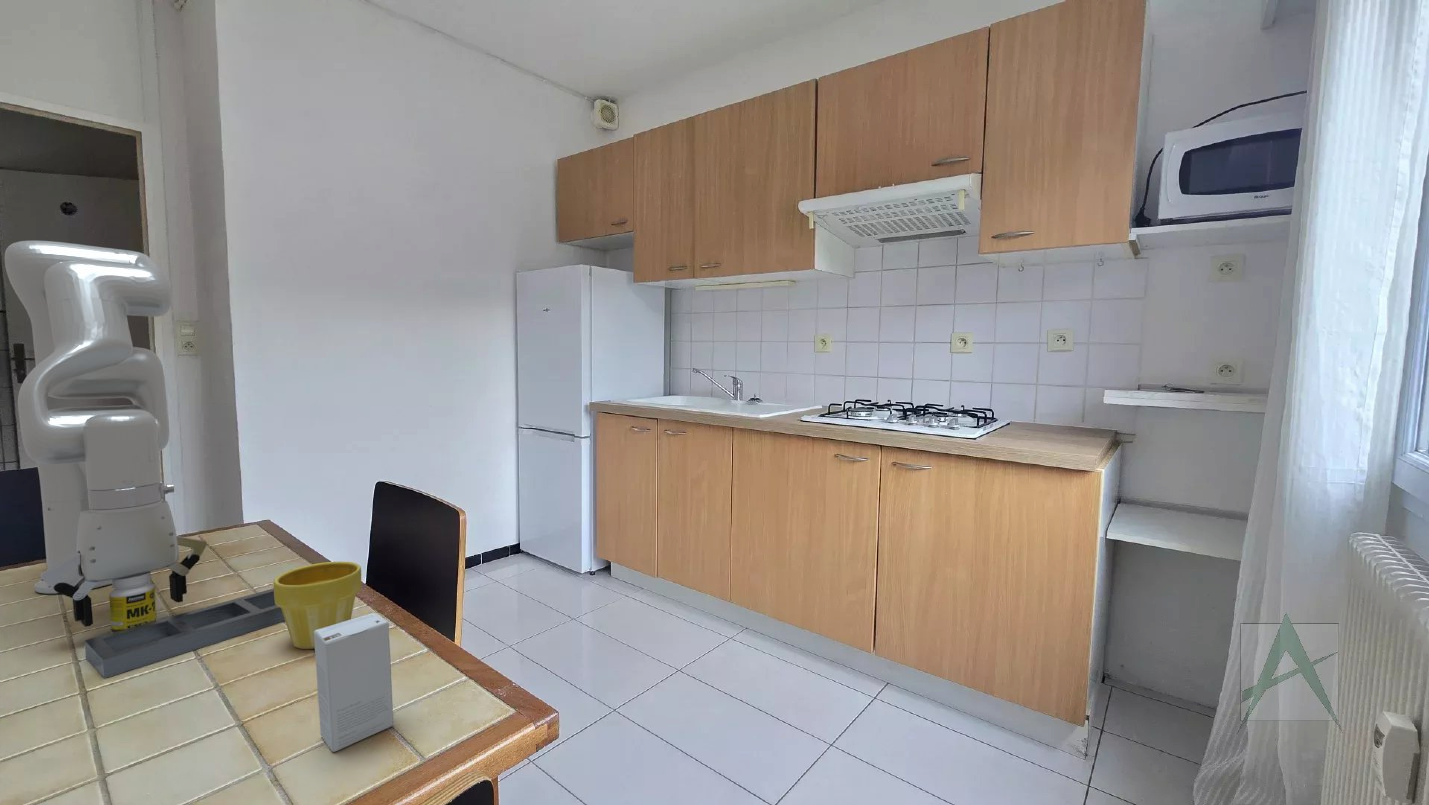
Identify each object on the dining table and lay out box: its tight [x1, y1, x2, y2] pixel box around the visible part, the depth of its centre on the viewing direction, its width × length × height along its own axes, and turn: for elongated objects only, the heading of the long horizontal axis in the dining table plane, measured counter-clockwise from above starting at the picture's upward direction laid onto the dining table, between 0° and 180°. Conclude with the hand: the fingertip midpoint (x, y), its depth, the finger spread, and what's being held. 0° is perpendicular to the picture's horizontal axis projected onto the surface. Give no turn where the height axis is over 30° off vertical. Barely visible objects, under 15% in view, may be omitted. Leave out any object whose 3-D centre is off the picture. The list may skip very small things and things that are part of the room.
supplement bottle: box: [108, 571, 157, 633], centre depth 86 cm, size 5×5×8 cm
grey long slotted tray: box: [83, 587, 285, 679], centre depth 86 cm, size 9×25×2 cm, turn 147°
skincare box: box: [314, 612, 394, 753], centre depth 62 cm, size 6×4×12 cm
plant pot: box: [272, 561, 362, 650], centre depth 83 cm, size 10×10×10 cm
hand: (133, 611), depth 86 cm, fingers open, 9 cm apart
